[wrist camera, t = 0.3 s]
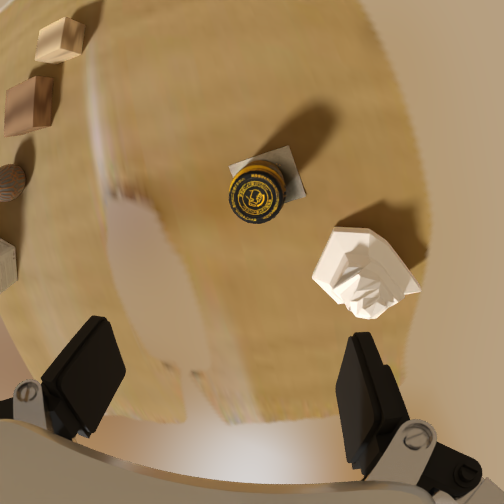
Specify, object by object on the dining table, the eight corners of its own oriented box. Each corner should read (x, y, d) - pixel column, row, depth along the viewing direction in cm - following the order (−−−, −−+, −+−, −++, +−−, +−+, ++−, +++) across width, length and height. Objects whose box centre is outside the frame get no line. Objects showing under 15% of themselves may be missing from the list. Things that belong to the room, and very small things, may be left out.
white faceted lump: (354, 311, 46) (349, 375, 34) (301, 246, 44) (280, 301, 32) (417, 276, 40) (433, 338, 28) (367, 200, 37) (375, 244, 25)
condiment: (228, 166, 37) (209, 177, 26) (288, 145, 36) (295, 146, 25) (247, 214, 40) (237, 245, 29) (305, 195, 38) (319, 219, 27)
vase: (34, 174, 39) (1, 184, 31) (24, 202, 41) (-7, 216, 33) (17, 155, 38) (-15, 162, 30) (7, 183, 40) (-23, 194, 32)
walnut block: (24, 90, 33) (6, 90, 28) (54, 78, 32) (36, 75, 28) (22, 134, 36) (4, 137, 32) (51, 125, 36) (32, 127, 31)
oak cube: (60, 36, 29) (39, 29, 23) (85, 25, 29) (65, 16, 23) (56, 64, 31) (34, 60, 26) (81, 54, 31) (60, 48, 25)
